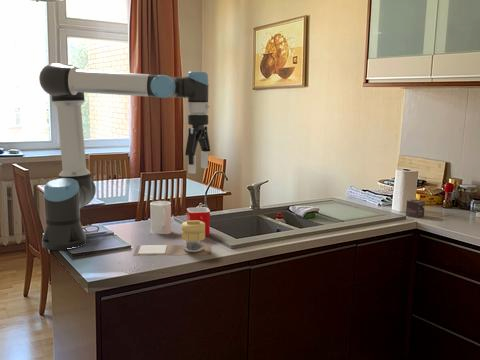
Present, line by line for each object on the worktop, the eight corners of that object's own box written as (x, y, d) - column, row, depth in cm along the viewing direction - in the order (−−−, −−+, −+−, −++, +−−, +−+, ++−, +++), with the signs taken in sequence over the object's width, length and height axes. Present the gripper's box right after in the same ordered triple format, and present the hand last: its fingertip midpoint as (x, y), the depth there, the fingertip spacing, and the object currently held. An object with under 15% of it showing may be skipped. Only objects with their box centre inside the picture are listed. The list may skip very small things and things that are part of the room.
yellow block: (181, 241, 160) (181, 224, 159) (182, 234, 168) (182, 218, 167) (205, 241, 161) (205, 223, 160) (204, 234, 169) (204, 217, 167)
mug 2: (186, 234, 188) (186, 208, 186) (206, 232, 190) (206, 207, 188) (191, 243, 176) (191, 215, 174) (213, 241, 178) (213, 214, 177)
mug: (174, 236, 184) (174, 206, 182) (152, 238, 182) (151, 207, 180) (170, 228, 195) (169, 200, 193) (149, 230, 193) (148, 201, 191)
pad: (137, 254, 159) (137, 253, 159) (141, 246, 168) (141, 245, 168) (165, 254, 160) (165, 253, 160) (166, 246, 169) (166, 244, 169)
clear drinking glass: (183, 253, 161) (182, 233, 160) (183, 246, 168) (183, 228, 167) (203, 252, 162) (203, 233, 161) (203, 246, 169) (203, 227, 168)
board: (133, 259, 158) (132, 255, 158) (137, 248, 169) (137, 245, 169) (211, 257, 160) (211, 254, 160) (210, 247, 171) (210, 244, 171)
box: (417, 218, 217) (418, 202, 216) (405, 215, 222) (406, 200, 221) (424, 216, 221) (425, 201, 220) (412, 213, 226) (413, 198, 224)
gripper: (196, 115, 164) (196, 176, 167) (218, 113, 187) (217, 166, 191) (175, 115, 166) (176, 175, 169) (200, 113, 189) (200, 165, 193)
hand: (198, 170), depth 180 cm, fingers open, 13 cm apart
